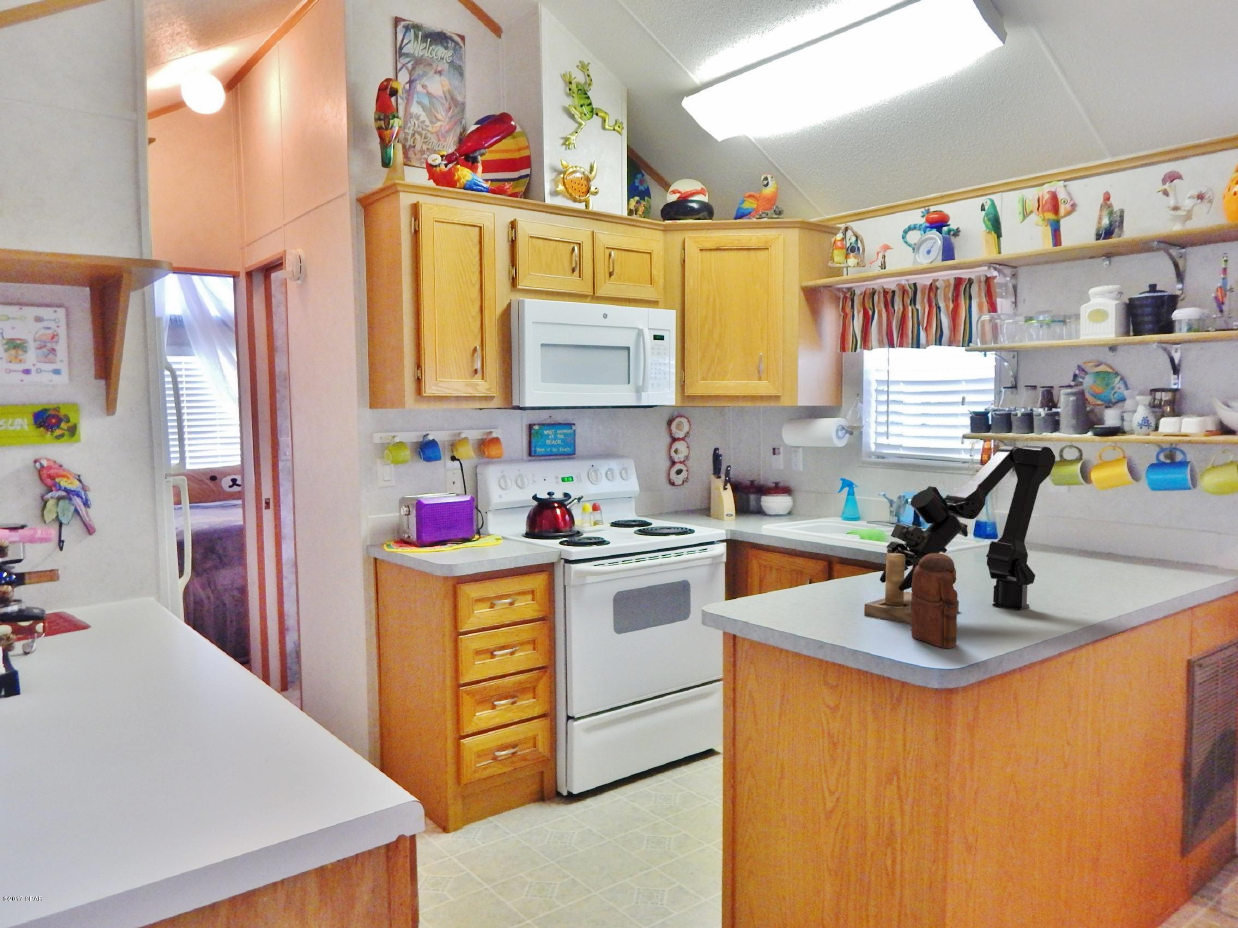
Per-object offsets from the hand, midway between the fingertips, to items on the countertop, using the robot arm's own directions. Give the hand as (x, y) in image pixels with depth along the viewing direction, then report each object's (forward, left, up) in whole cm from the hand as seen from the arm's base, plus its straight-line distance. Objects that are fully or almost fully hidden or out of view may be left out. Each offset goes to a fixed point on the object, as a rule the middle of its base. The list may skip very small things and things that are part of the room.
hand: (890, 585), depth 196 cm
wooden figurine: (-17, +13, -7) cm, 23 cm away
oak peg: (-1, -1, -7) cm, 7 cm away
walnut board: (-2, -7, -7) cm, 10 cm away
